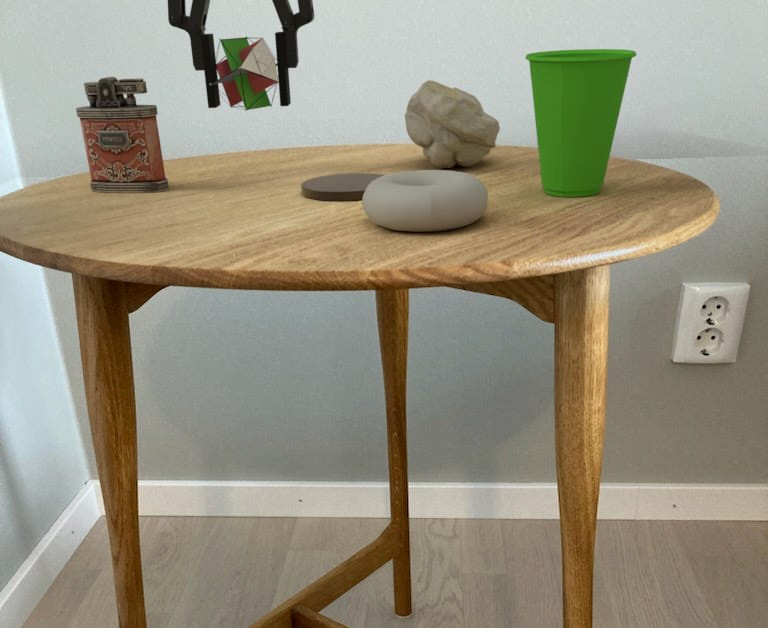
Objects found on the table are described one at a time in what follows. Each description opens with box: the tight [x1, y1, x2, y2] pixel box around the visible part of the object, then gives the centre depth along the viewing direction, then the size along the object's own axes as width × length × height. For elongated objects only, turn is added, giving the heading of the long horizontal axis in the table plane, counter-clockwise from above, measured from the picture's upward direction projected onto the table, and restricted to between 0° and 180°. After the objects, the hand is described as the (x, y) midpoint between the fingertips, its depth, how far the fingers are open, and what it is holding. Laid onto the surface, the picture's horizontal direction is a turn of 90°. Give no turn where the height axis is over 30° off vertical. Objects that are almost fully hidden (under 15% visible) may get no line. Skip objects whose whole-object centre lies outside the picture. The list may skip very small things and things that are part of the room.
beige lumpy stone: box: [404, 79, 501, 169], centre depth 93 cm, size 12×8×10 cm
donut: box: [361, 169, 489, 233], centre depth 72 cm, size 10×4×10 cm
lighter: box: [75, 76, 170, 194], centre depth 88 cm, size 8×3×10 cm, turn 76°
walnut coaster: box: [300, 172, 385, 202], centre depth 85 cm, size 9×9×1 cm
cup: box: [524, 48, 637, 198], centre depth 78 cm, size 9×9×11 cm
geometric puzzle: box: [210, 36, 279, 112], centre depth 91 cm, size 7×7×8 cm
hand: (249, 105), depth 93 cm, fingers closed on geometric puzzle, 6 cm apart
